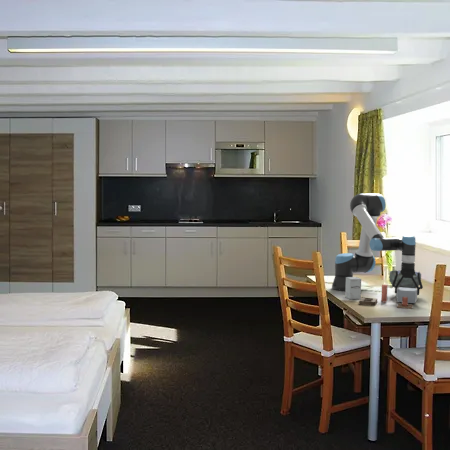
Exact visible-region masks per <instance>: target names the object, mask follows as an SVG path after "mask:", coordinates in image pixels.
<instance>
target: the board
mask: <svg viewBox="0 0 450 450" xmlns="http://www.w3.org/2000/svg"><path fill="white" fill-rule="evenodd" d="M413 304H414V303H408V297H402V302H398V304H397V305H396V308H397V309H409V310H410V309H411V310H412V309H413V307H414V305H413Z"/></svg>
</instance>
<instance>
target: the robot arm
mask: <svg viewBox="0 0 450 450" xmlns="http://www.w3.org/2000/svg"><path fill="white" fill-rule="evenodd" d="M349 210H350V211H351V214H352V215H353V216H354V217H356V219H357V220H358V222H359V224H360V226H361V229H360V230H361V231H360V236H359V242H358V243H359V244H358V249H356V250H355V254H354V253H351V252H347V253H346V252H345V253H339V254H337V255H336V256H335V260H334V264H335V265H334V278H333V282H332V284H331V289H332V290H334V291H341V292H343V291H344V292H345V289H346V277H354V274H357V273H358V274H360V273H361V274H362V273H370V272H372V271H373V270H374V269H375V267H376V264H377V263H376V258H375V256H374V253H373V252H372V251H374V252H375V251H376V252H381V251H382V252H384V251H385V252H386V251H389V252H390V251H400V252H401V265H400V267H401V268H400V270H401V271H398V269H396V270H397V271H396V275H395V278H394V281H393V284H391V287H393V288H394V293H395V294H396V293H397V292H398V289H399V288H397V287H398V285H399V284H400V282H401V281H402V279H403V278H411V279H412V281H413V282H414V284H415V286H416V288H417V289H416V300H415V301H416V302H417V301H418V296H419V295H420V290H422V289H423V288H424V287H423V281H422V277H421V278H420V273H421V272H420V271H416V270H415V265H416V264H415V262H416V247H417V245H416V244H417V242H416V237H415V235H414V236H413V235H403V236H402V237H397V236H396V237H395V236H394V237H384V235H383V234H382V232H381V231H380V230H379V228H378V226H377V221H378V218H379V217H380V216H381V213H383V212H384V211H385V210H386V199H385V197H384V196H383V194H380V193H357V194H356V195H354V196H353V197H352V198H351V200H350V201H349ZM399 273H401V274H402V277H401V279H400V280H399V282H398V283H397V285H395V282H396V279H397V277H398V274H399ZM414 274H416V275H417V277H418V281H419V286H418V284H417V282H416V281H415V279H414V277H413V275H414Z"/></svg>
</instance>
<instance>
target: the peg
mask: <svg viewBox="0 0 450 450" xmlns="http://www.w3.org/2000/svg"><path fill="white" fill-rule="evenodd" d="M381 302H382V303H387V302H388V284H381Z"/></svg>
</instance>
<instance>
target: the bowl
mask: <svg viewBox="0 0 450 450" xmlns="http://www.w3.org/2000/svg"><path fill="white" fill-rule="evenodd" d="M397 270H398V269H396V270H395V269H394V270H390V271H389V276H388V279H389V282H390V284H391V285H392V284H393V281H394V278H395V275H396V271H397ZM398 271H401V269H400V270H398ZM401 277H402V274H401V273H399V274H398V277H397V279H396V282H395V285H397V283H398V282H399V280H400V279H401ZM413 277H414V279H415V281H416V282H417V284H418V286H419V287H420V285H419V281H418V277H417V275H416V274H414V275H413ZM420 278H421V279H422V273H421V272H420ZM399 287H403V288H416V286H415V284H414V282H413V281H412V279H411V278H403V279H402V281H401V282H400V284H399V285H398V287H397V288H399ZM395 297H397V293H395Z"/></svg>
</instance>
